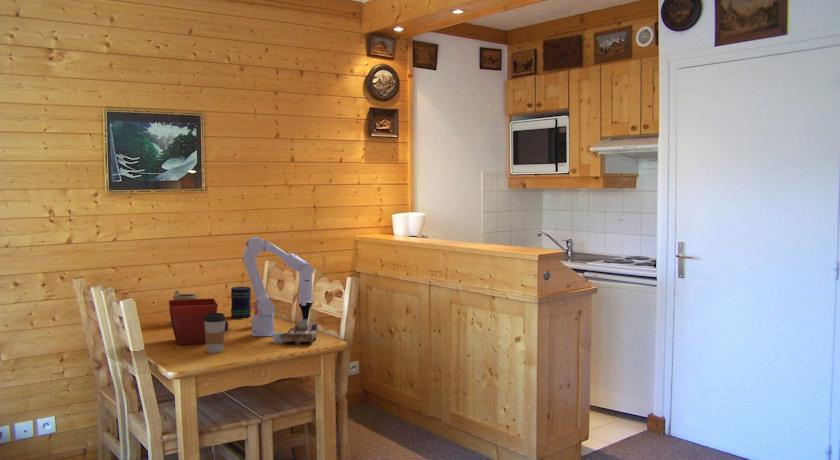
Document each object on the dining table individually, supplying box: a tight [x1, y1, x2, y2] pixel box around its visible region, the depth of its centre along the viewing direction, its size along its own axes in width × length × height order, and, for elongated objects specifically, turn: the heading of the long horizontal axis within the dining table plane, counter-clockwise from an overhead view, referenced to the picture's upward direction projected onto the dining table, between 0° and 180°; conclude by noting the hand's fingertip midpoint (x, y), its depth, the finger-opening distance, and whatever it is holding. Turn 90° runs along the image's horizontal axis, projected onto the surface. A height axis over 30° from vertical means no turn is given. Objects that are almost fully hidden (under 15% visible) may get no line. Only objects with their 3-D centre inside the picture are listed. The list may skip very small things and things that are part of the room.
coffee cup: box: [204, 312, 226, 354], centre depth 280 cm, size 8×8×15 cm
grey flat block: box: [282, 322, 319, 346], centre depth 305 cm, size 13×22×5 cm, turn 2°
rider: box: [297, 318, 310, 330], centre depth 314 cm, size 4×4×4 cm
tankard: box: [169, 289, 198, 326], centre depth 338 cm, size 20×13×15 cm, turn 34°
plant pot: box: [167, 298, 218, 346], centre depth 298 cm, size 19×19×17 cm
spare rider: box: [272, 331, 285, 344], centre depth 300 cm, size 4×4×4 cm
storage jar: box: [230, 286, 252, 320], centre depth 356 cm, size 10×10×15 cm
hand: (305, 318), depth 321 cm, fingers closed
